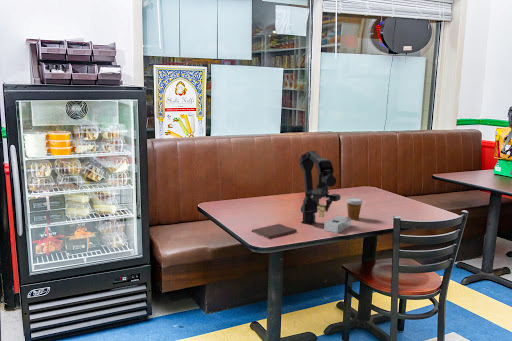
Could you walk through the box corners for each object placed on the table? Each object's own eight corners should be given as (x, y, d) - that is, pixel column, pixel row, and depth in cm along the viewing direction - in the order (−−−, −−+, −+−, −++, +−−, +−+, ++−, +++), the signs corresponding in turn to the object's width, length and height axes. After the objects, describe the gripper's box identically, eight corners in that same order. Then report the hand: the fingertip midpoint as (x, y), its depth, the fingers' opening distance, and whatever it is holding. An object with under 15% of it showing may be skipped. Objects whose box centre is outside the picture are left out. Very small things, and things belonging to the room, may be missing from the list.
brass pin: (315, 216, 261) (315, 205, 260) (319, 214, 266) (320, 203, 264) (323, 218, 259) (324, 206, 257) (328, 216, 263) (328, 204, 262)
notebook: (251, 232, 263) (251, 229, 262) (278, 226, 275) (278, 222, 274) (269, 239, 251) (269, 236, 251) (296, 233, 263) (296, 229, 263)
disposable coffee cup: (343, 219, 289) (344, 200, 286) (347, 215, 297) (348, 196, 295) (359, 221, 285) (360, 202, 283) (362, 217, 293) (364, 198, 291)
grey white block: (324, 230, 267) (324, 222, 266) (337, 222, 282) (338, 215, 281) (337, 233, 263) (337, 225, 262) (350, 225, 277) (350, 217, 277)
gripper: (300, 183, 257) (299, 211, 260) (332, 187, 247) (331, 217, 250) (310, 179, 266) (309, 207, 269) (341, 184, 256) (340, 212, 259)
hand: (321, 210), depth 261 cm, fingers closed on brass pin, 5 cm apart
